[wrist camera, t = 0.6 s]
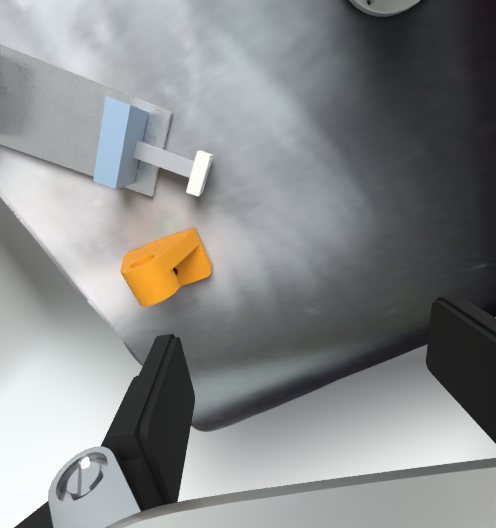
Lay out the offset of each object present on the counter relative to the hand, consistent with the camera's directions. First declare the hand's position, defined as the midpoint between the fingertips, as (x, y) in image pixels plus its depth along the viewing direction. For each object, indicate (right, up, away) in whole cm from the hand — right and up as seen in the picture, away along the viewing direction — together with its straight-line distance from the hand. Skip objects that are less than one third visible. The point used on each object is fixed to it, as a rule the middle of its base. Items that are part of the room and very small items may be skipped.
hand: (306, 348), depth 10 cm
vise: (-25, +21, +25) cm, 41 cm away
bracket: (-14, +4, +33) cm, 36 cm away
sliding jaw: (-13, +17, +26) cm, 34 cm away
